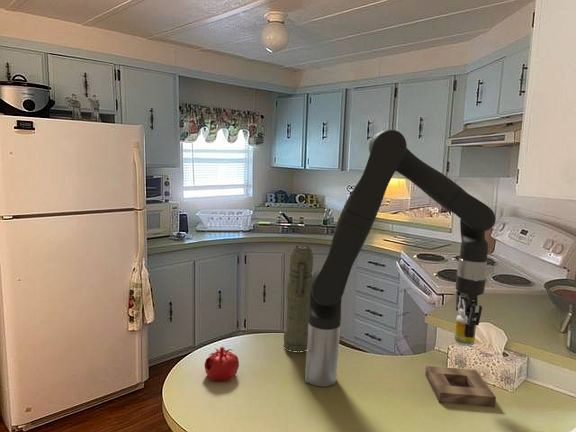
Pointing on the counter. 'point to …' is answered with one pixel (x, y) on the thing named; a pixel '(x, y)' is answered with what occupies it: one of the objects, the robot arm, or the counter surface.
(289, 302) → the thermos
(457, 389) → the walnut holder
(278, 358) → the counter surface
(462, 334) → the supplement bottle
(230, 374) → the pomegranate
